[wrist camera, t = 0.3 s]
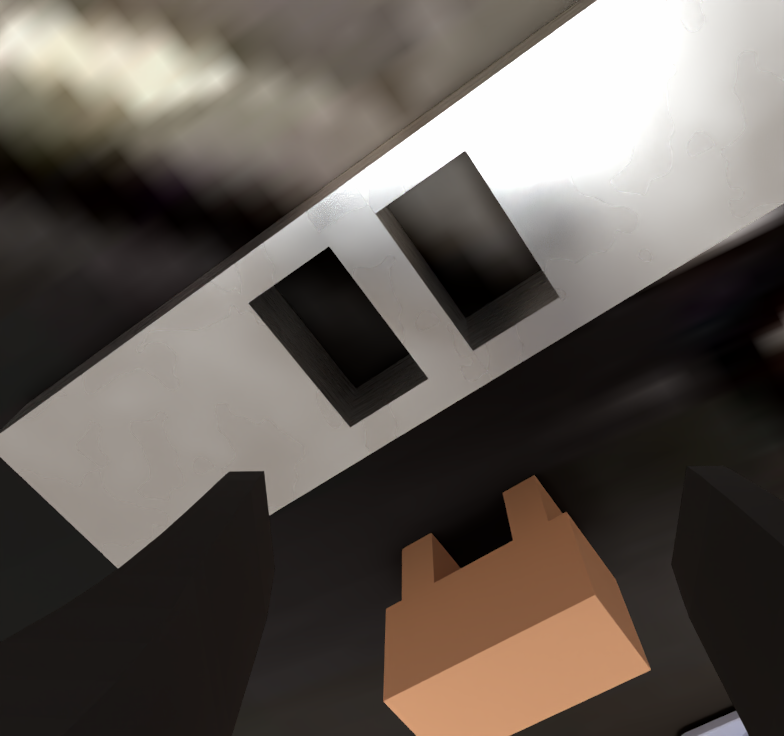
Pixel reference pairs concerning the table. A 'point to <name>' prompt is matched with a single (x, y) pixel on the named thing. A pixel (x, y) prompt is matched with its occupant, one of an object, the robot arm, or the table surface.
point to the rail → (414, 276)
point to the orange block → (506, 628)
